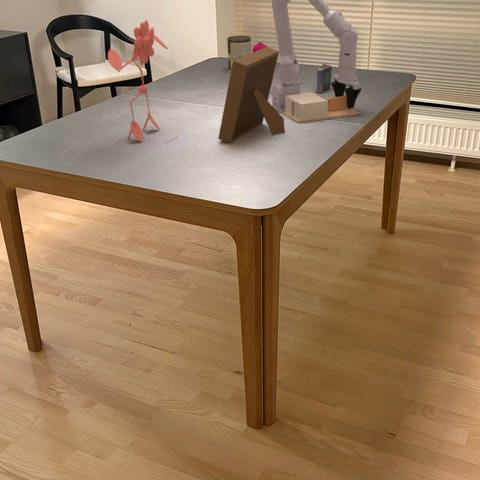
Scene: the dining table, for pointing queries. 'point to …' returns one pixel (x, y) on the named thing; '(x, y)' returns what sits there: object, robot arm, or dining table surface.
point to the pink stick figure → (143, 51)
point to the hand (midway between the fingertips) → (344, 105)
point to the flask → (323, 78)
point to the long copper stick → (337, 103)
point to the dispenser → (311, 108)
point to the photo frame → (250, 96)
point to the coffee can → (238, 48)
